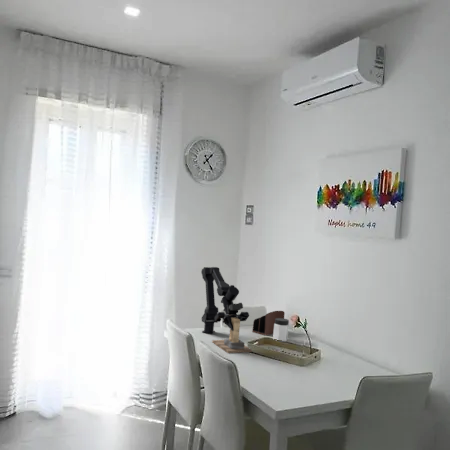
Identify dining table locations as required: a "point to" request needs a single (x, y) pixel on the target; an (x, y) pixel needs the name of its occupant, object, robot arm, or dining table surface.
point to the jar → (281, 329)
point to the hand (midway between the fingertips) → (235, 330)
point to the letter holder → (266, 323)
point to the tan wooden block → (235, 330)
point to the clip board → (231, 346)
